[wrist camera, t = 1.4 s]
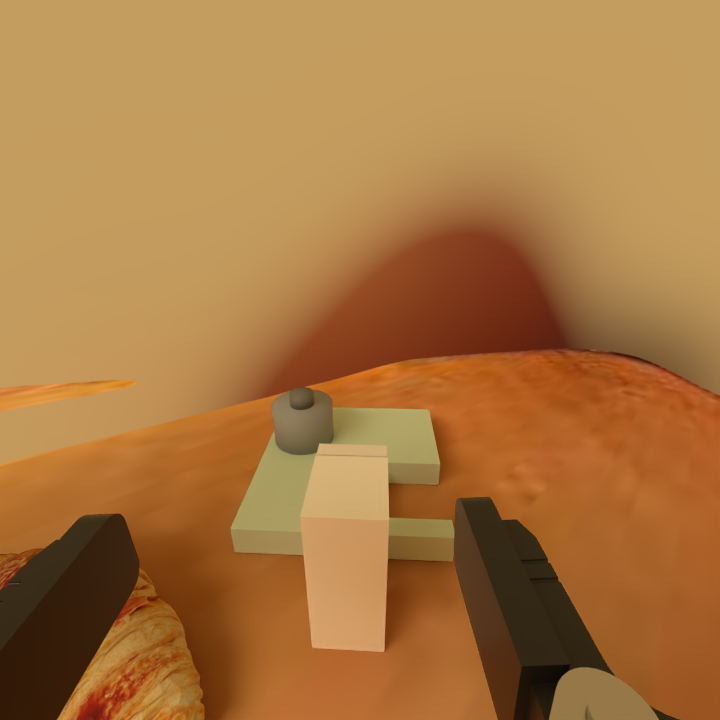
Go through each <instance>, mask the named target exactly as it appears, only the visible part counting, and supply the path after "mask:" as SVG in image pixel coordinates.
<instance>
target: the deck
mask: <svg viewBox="0 0 720 720" xmlns="http://www.w3.org/2000/svg"><path fill="white" fill-rule="evenodd" d="M272 415H273V423H274V432H273V434H272V436H271V439H270V441H269V443H268V445H267V448H266V450H265V452H264V454H263V457H262V459H261V461H260V463H259V466H258V468H257V470H256V472H255V475H254V477H253V479H252V481H251V483H250V486H249V488H248V490H247V492H246V495H245V497H244V499H243V501H242V504H241V506H240V508H239V510H238V513H237V515H236V517H235V519H234V521H233V524H232V526H231V528H230V531H231V536H232V541H233V546H234V551H235V552H241V553H264V554H287V555H303V544H302V534H301V523H300V515H301V511H302V507H303V503H304V499H305V495H306V491H307V487H308V483H309V479H310V475H311V471H312V467H313V463H314V459H315V455H316V454H317V450H318V446H319V444H353V445H387V456H388V483H394V484H424V485H438V483H439V473H440V460H439V455H438V450H437V446H436V441H435V436H434V431H433V427H432V422H431V417H430V412H429V410H428V409H384V408H341V407H332V399H331V398H330V396H329V395H327V394H326V393H324V392H321V391H318V390H312V389H310V388H305V387H301V388H296V389H293V390H292V391H290V392H287V393H285V394H283V395H281V396H279V397H278V398H276V399H275V400H274V402H273V403H272ZM453 556H454V527H453V522H452V520H440V519H414V518H389V538H388V559H402V560H425V561H448V562H453Z"/></svg>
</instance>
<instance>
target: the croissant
mask: <svg viewBox="0 0 720 720" xmlns="http://www.w3.org/2000/svg"><path fill="white" fill-rule="evenodd" d="M42 550H43V549H33V550H28V551H25V552H23V553H20V554H19V555H18V554H0V590H1V589H2V588H3V587H7V585H8V582H9V581H10V580H11V578H12V577H13V576H14V575H15V574H16V573H17V572H18V571H19V570H20V569H21V568H22V567H23V566H24V565H25V564H26V563H27V562H28V560H29V559H31V558H32V557H34V556H35V555H36V554H38V553H39V552H40V551H42ZM158 598H159V597H158V596H157V593H156V589H155V587H154V584H153V582H152V580H151V579H150V577H149V576H148V575H147V574H146V573H145V572H144V571H143V570H142V569H141V568H140V566H139V576H138V580H137V583H136V586H135V588H134V590H133V592H132V593H131V595H130V597H129V598H128V600H127V602H126V603H125V605H124V607H123V609H122V610H121V612H120V614H119V615H118V617H117V619H116V620H115V622H114V624H113V626H112V627H111V629H110V631H109V632H108V634H107V636H106V637H105V639H104V641H103V642H102V644H101V646H100V648H99V649H98V651H97V653H96V654H95V656H94V658H93V659H92V661H91V663H90V664H89V666H88V668H87V670H86V671H85V673H84V675H83V676H82V678H81V680H80V681H79V683H78V685H77V686H76V688H75V690H74V692H73V693H72V695H71V697H70V698H69V700H68V702H67V703H66V705H65V707H64V708H63V710H62V712H61V714H60V715H59V717H58V719H57V720H204V716H205V710H204V705H203V704H202V703H201V698H202V697H203V690H202V688H200V675H199V674H198V672H197V670H196V668H195V666H194V663H193V660H192V656H191V652H190V650H189V649H188V648H187V643H186V640H185V632H184V627H183V625H182V623H181V621H180V619H179V618H178V616H177V614H176V613H175V611H174V610H173V608H172V607H171V606H170V605H169V604H168V603H166V602H164V601H163V600H162V599H158Z"/></svg>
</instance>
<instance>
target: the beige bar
mask: <svg viewBox="0 0 720 720" xmlns="http://www.w3.org/2000/svg"><path fill="white" fill-rule="evenodd" d="M300 523H301V534H302V544H303V555H304V566H305V577H306V587H307V598H308V609H309V620H310V630H311V641H312V648H322V649H339V650H357V651H375V652H384V649H385V621H386V593H387V565H388V538H389V489H388V456H387V445H353V444H319V446H318V450H317V454H316V455H315V459H314V463H313V467H312V471H311V475H310V479H309V483H308V487H307V491H306V495H305V499H304V503H303V507H302V511H301V515H300Z"/></svg>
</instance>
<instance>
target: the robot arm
mask: <svg viewBox="0 0 720 720" xmlns="http://www.w3.org/2000/svg"><path fill="white" fill-rule="evenodd" d="M454 559H455V566H456V571H457V575H458V579H459V583H460V586H461V590H462V593H463V597H464V601H465V604H466V608H467V611H468V615H469V618H470V622H471V625H472V629H473V633H474V636H475V640H476V643H477V647H478V650H479V654H480V657H481V661H482V665H483V668H484V672H485V675H486V679H487V682H488V686H489V690H490V693H491V697H492V700H493V704H494V707H495V711H496V714H497V718H498V720H679V719H676V718H673V717H671V716H668V715H666V714H664V713H662V712H660V711H658V710H656V709H654V708H652V707H651V706H649V705H648V704H647V703H646V701H645V700H644V699H643V698H642V697H641V696H640V695H639V694H638V693H637V692H636V691H635V690H634V689H632V688H631V687H630V686H629V685H627V684H626V683H625V682H623V681H622V680H620V679H618V678H617V677H616V676H615V675H614V674H613V673H612V671H611V670H610V669H609V667H608V666H607V664H606V663H605V661H604V659H603V658H602V656H601V654H600V652H599V650H598V649H597V647H596V645H595V643H594V641H593V640H592V638H591V636H590V634H589V632H588V631H587V629H586V627H585V625H584V623H583V622H582V620H581V618H580V616H579V614H578V613H577V611H576V609H575V607H574V605H573V604H572V602H571V600H570V598H569V596H568V595H567V593H566V591H565V589H564V587H563V586H562V584H561V582H559V581H558V577H557V575H556V573H555V571H554V569H553V568H552V566H551V564H550V563H548V559H547V557H546V555H545V553H544V551H543V550H542V548H541V546H540V544H539V542H538V541H537V539H536V537H535V536H534V535H533V534H532V533H531V532H529V531H528V530H527V529H526V528H525V527H524V526H523V525H522V524H521V523H520V522H519V521H517V520H501V518H500V516H499V514H498V511H497V509H496V507H495V505H494V503H493V501H492V500H491V498H490V497H476V498H458V499H457V501H456V511H455V531H454ZM138 576H139V559H138V556H137V553H136V550H135V547H134V544H133V542H132V539H131V536H130V533H129V530H128V527H127V524H126V521H125V519H124V517H123V516H122V515H121V514H98V515H85V516H82V517H81V518H79V519H78V520H77V521H76V522H75V523H74V524H73V525H72V526H71V528H70V529H69V530H68V531H67V532H66V533H65V534H64V535H63V536H62V537H61V539H60V540H56V541H54V542H53V543H51V544H50V545H49V546H47V547H46V548H45V549H43V550H42V551H40V552H39V553H38V554H36V555H35V556H34V557H32V558H31V559H29V560H28V562H27V563H26V564H25V565H24V566H23V567H22V568H21V569H20V570H19V571H18V572H17V573H16V574H15V575H14V576H13V577H12V578H11V580H10V581H9V582H8V585H7V587H3V588H2V589H1V590H0V720H57V719H58V717H59V715H60V714H61V712H62V710H63V708H64V707H65V705H66V703H67V702H68V700H69V698H70V697H71V695H72V693H73V692H74V690H75V688H76V686H77V685H78V683H79V681H80V680H81V678H82V676H83V675H84V673H85V671H86V670H87V668H88V666H89V664H90V663H91V661H92V659H93V658H94V656H95V654H96V653H97V651H98V649H99V648H100V646H101V644H102V642H103V641H104V639H105V637H106V636H107V634H108V632H109V631H110V629H111V627H112V626H113V624H114V622H115V620H116V619H117V617H118V615H119V614H120V612H121V610H122V609H123V607H124V605H125V603H126V602H127V600H128V598H129V597H130V595H131V593H132V592H133V590H134V588H135V586H136V583H137V580H138Z"/></svg>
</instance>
